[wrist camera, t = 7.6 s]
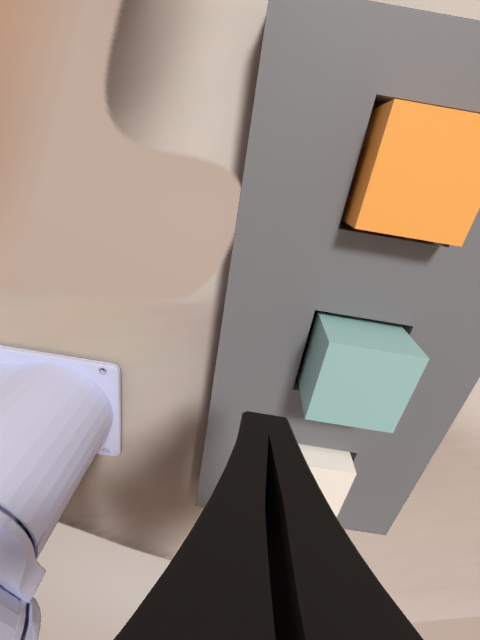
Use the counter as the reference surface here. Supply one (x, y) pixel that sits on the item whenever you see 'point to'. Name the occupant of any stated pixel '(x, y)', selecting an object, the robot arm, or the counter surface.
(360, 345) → the teal button
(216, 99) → the counter surface
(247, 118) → the counter surface
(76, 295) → the counter surface
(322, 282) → the button panel
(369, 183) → the orange button
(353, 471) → the white button
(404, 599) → the counter surface
